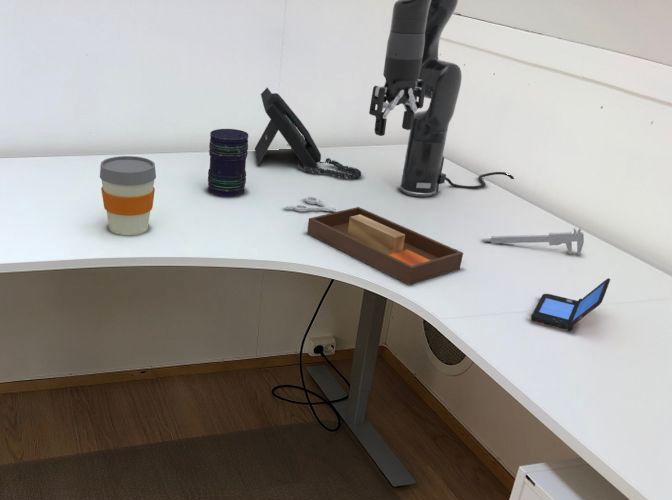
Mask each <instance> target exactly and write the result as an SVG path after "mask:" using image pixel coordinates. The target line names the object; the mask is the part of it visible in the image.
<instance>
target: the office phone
mask: <svg viewBox="0 0 672 500" xmlns="http://www.w3.org/2000/svg"><path fill="white" fill-rule="evenodd" d="M260 97H261V102H262V105H263V109H264V111H265V113H266V115H267V116H268V118H269V119H270V120H269V122H268V123H267V125H266V127H265V129H264V131H263V133H262V134H261V136H260V138H259V140H258V142H257V143H256V144H255V145H256V146H255V147H254V153H255V156H256V162H257V166H258V167H259V165H260V164H261V162H262V160H263V159H264V157H265V155H266V153H267V151H268V150H269V148H270V146H271V144H272V142H273V141H274V139H275V137H276V136H277V134H278V132H279V133H280V134H281V136H282V137H283V139H284V140H285V141H286V142H287V144H288V146H289V147H290V148H291V149H292V151H293V152H294V154H295V155H296V157H297V158H298V160H297V166H298V167H297V168H298V169H301V170H303V171H304V172H307V173H309V174H321V175H324V174H325V175H328V176H335V178H337V177H340V178H342V179H349V180H352V179H357V178H358V179H359V178H360V177H362V170H360V169H358V168H357V167H354V166H348V165H344V164H342V163H340V162H339V161H337V160H336V159H331V158H330V157H328V158H326V159H325V160H324V161H322V154H321V152H320V150H319V148H318V146H317V145H316V143H315V141H314V139H313V137H312V136H311V134H310V132H309V131H308V129H307V128H306V126H305V125H304V123H303V122H302V121H301V119H300V118H299V117H298V115H296V113H295V112H294V111H293V110H292V108H291V107H290V105H288V104H287V102H286V101H285V100H284V99H283V98H282V96H281V95H280V94H279V93H277V92H275V93H273V92H271V90H270V88H268V87H266V88H265V89H264V90H263V91H262V92H261V94H260ZM300 162H301V163H302V165H303V167H302V166H301V164H300ZM318 163H319V164H328V165H332V166H333V167H335V168H337V169H338V170H341V171H338V170H334V169H329V168H319V166H318Z"/></svg>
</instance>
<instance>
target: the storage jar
mask: <svg viewBox="0 0 672 500" xmlns="http://www.w3.org/2000/svg"><path fill="white" fill-rule="evenodd" d="M209 137H210V138H209V142H208V143H209V145H208V147H209V150H208V156H209V169H208V171H207V185H208V187H207V193H209V194H210V195H212V196H215V197H219V198H238V197H241V196H243V195H244V194H245V193H246V192H245V187H246V184H247V183H246V182H247V171H246V166H247V165H246V163H247V157H248V154H249V153H248V150H249V133H248V132H247V131H244V130H241V129H235V128H218V129H214V130H212V131H210V133H209Z"/></svg>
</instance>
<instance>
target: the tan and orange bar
mask: <svg viewBox="0 0 672 500" xmlns="http://www.w3.org/2000/svg"><path fill="white" fill-rule="evenodd" d="M347 235H348V236H350V237H352V238H355V239H357V240H359V241H361V242H363V243H365V244H367V245H369V246H371V247H373V248H375V249H377V250H380V251H382V252H384V253H386V254H388V255H390V256H392V257H394V258H396V259H398V260H400V261H402V262H405V263H407V264H409V265H411V266H413V265H417V264H420V263H423V262H427V261H430V260H429V259H427V258H425V257H422V256H420V255H418V254H416V253H414V252H412V251H410V250H403V245H404V240H405V234H403V233H400V232H398V231H396V230H394V229H392V228H389V227H387V226H385V225H383V224H380V223H378V222H376V221H374V220H371V219H369V218H367V217H365V216H362V215H355V216H351V217H350V219H349V226H348V233H347Z"/></svg>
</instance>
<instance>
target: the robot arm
mask: <svg viewBox="0 0 672 500" xmlns="http://www.w3.org/2000/svg"><path fill="white" fill-rule="evenodd" d="M458 2H459V0H397V1H395V2H394V4H393V8H392V13H391V14H392V15H391V21H390V22H391V23H390V30H389V35H388V39H387V42H386V43H387V44H386V49H385V50H386V51H385V58H384V67H383V74H382V76H383V77H384V79H385V83H384V85H383V86H380V85H379V86H378V85H373V88H372V93H371V98H370V105H369V111H368V114H369V115H370V116H373V117H375V121H374V122H375V123H374V135H376V136H380V137H383V136H385V133H386V128H387V121H388V120H387V117H388V116H389V114H390V112H391V111H393V110H394V109H395V107H396V106H399V105H403V108H404V111H403V117H402V124H401V128H402V129H403V130H406V131H409V134H408V141H407V147H406V152H405V158H404V164H403V169H402V175H401V181H400V185H399V191H400V192H401V193H403V194H405V195H407V196H411V197H417V198H428V197H429V198H430V197H433V196H436V193H438V192H439V187H440V185H441V184H442V185H443V184H445V182H447V183H448V185H450V186H452V187H454V188H459V189H468V190H469V189H473V190H474V189H481V188H484V187H485V186H486V182H485V181H484V180H483V178H485V177H490V176H496V175H504V176H507V177H508V178H510V180H515V178H514V176H513V175H512V174H510V175H507V174H506V173H507V172H505V171H493V172H489V173H484V174H480V175H478V178H477V179H478V181H479V182H480V183H481V184H479V185H462V184H456V183H453V182H452V181H451V179H450V178H449V177H448V176H447V174H446V173H443V168H444V162H445V156H444V150H445V147H446V146H445V145H446V140H447V137H448V136H447V135H448V131H449V130H448V129H449V126H450V123H451V120H452V118H453V117H454V113H455V110H456V106H457V101H458V99H459V98H458V97H459V94H460V90H461V86H462V78H463V75H462V74H463V73H462V70H461V67H460V66H459V65H458V64H457V63H454V62H451V61H450V62H449V61H445V60H441V59H439V49H440V48H439V47H440V40H441V36H442V34H443V32H444V29H445V28H446V27H447V24H448V23H449V22H450V19H452V16H453V14H454V13H455V11H456V9H457V6H458ZM425 98H426V99H429V100H430V102H429V104H428V108H427V109H426V110H421V111H418V110H419V109H422V108H423V107H424V101H425ZM417 100H418V101H417Z"/></svg>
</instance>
